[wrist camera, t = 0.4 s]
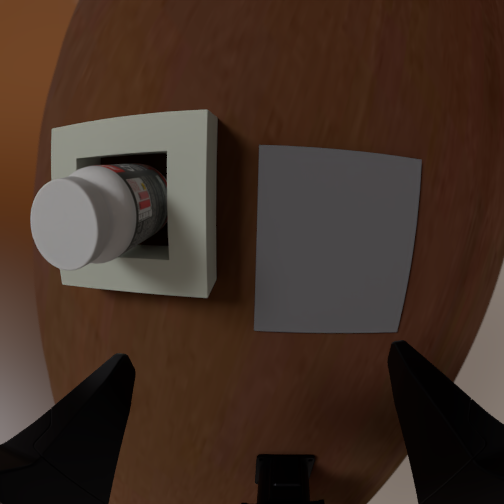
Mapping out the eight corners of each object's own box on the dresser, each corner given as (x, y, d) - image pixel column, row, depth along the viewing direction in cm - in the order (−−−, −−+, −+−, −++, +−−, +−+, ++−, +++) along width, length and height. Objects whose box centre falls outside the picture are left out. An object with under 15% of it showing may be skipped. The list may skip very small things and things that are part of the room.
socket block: (216, 279, 24) (207, 298, 20) (84, 270, 25) (62, 284, 21) (217, 117, 21) (207, 109, 17) (77, 131, 21) (51, 128, 18)
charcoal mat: (395, 329, 24) (396, 331, 24) (254, 327, 25) (254, 330, 24) (418, 159, 20) (421, 159, 20) (259, 145, 21) (259, 144, 20)
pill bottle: (159, 151, 21) (84, 146, 12) (185, 221, 23) (127, 261, 13) (99, 181, 22) (12, 197, 13) (124, 246, 24) (49, 293, 14)
